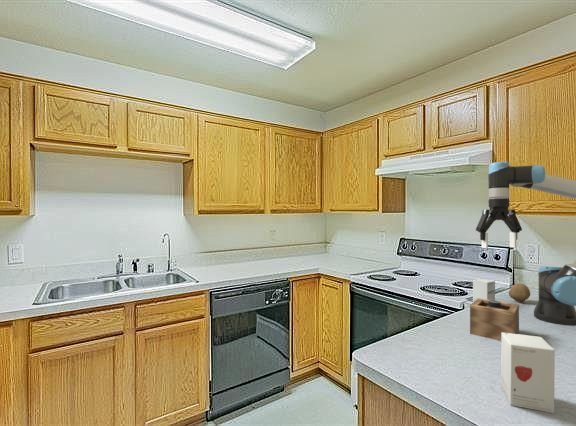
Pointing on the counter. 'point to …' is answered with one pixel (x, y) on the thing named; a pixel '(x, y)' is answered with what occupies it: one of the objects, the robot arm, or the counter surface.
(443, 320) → the counter surface
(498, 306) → the supplement bottle
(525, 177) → the robot arm
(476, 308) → the box
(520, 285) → the natural sponge
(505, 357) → the supplement box
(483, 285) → the supplement box
